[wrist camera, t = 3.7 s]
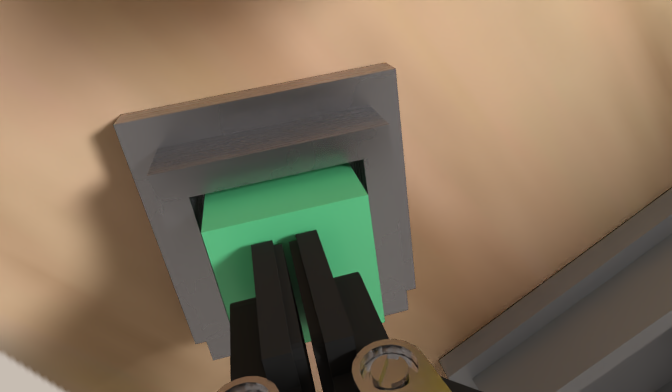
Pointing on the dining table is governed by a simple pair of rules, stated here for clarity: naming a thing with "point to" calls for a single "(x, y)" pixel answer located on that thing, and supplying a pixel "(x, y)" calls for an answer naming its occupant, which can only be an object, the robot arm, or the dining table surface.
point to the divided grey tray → (585, 321)
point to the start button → (291, 230)
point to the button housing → (269, 172)
